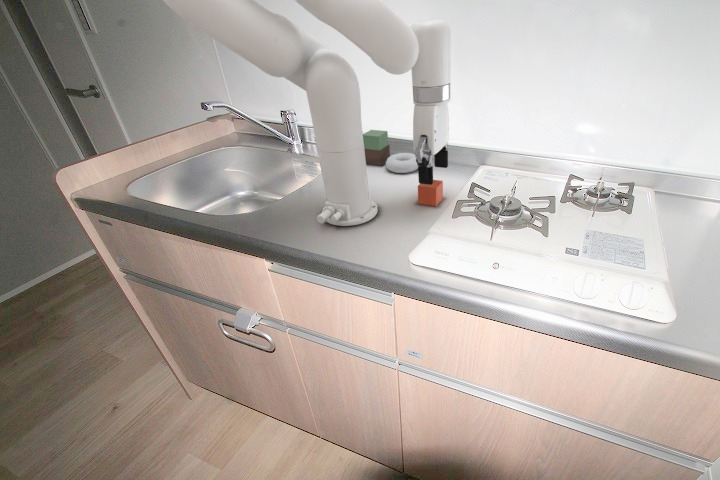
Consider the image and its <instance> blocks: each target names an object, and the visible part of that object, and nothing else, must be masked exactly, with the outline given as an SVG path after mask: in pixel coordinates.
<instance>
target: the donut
mask: <svg viewBox="0 0 720 480" xmlns="http://www.w3.org/2000/svg"><path fill="white" fill-rule="evenodd" d="M385 166H386V168H387V170H388V171H390V172H393V173H396V174H409V173H412V172H415V171H418V167H417V162H416V156H415V153H411V152H398V153H394V154H392V155H391V154H390V157H388V158H387V161H386V163H385Z"/></svg>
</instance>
